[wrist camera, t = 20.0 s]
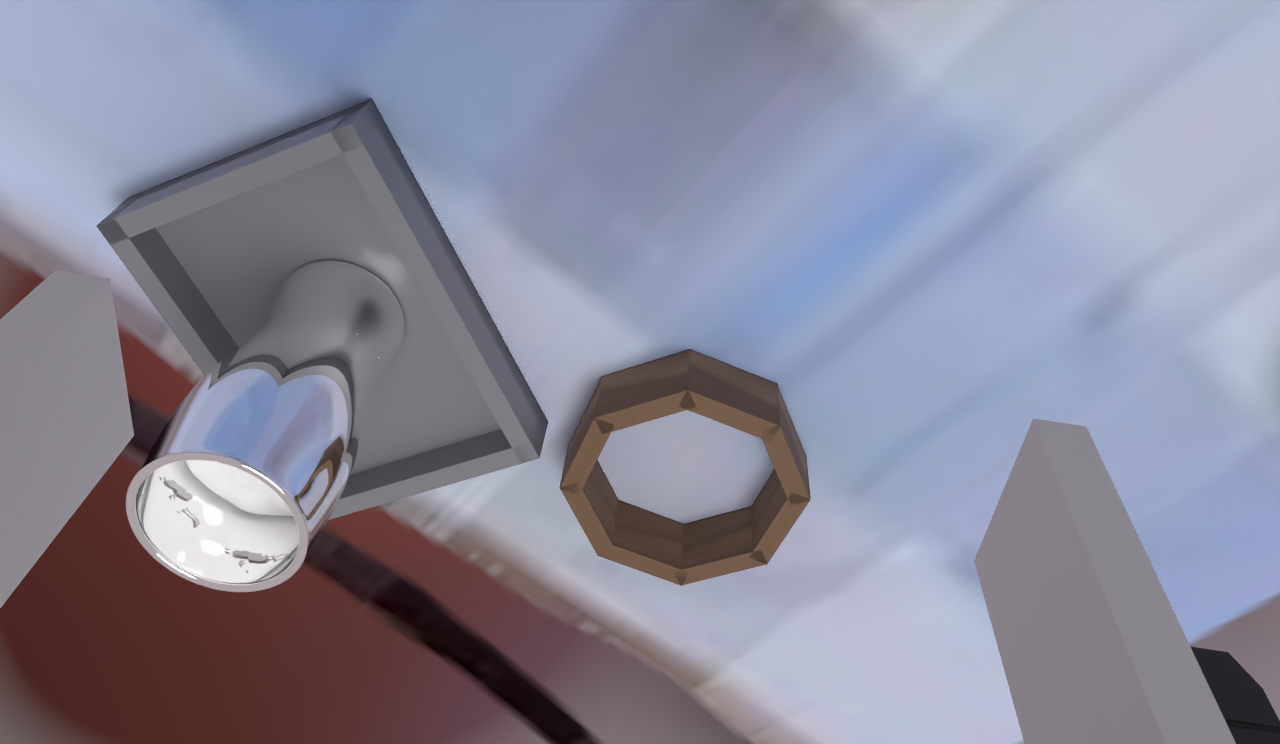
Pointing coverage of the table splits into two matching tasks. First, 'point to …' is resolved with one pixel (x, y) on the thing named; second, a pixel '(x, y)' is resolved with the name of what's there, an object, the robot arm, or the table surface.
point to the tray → (350, 232)
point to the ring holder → (659, 539)
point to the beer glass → (268, 435)
